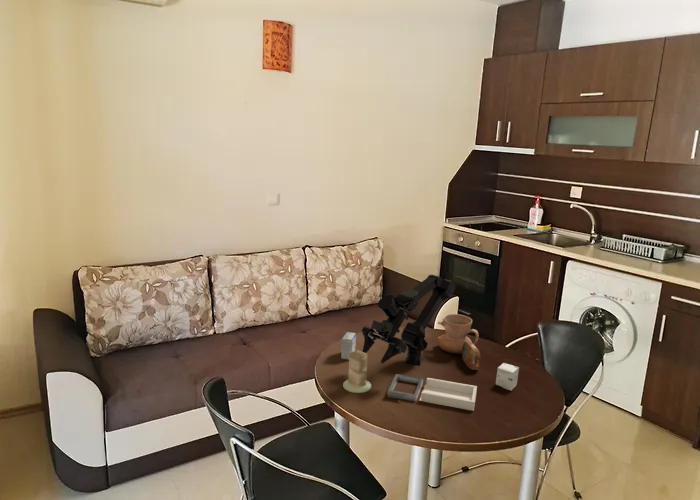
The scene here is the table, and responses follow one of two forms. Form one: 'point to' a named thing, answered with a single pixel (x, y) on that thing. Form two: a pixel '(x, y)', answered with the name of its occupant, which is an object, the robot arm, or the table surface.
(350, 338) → the medicine box
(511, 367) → the skincare box
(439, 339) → the ceramic jug
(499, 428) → the table surface
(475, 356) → the tin
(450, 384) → the cream rectangular tray
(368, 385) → the pad
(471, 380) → the table surface
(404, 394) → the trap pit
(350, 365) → the maple block
